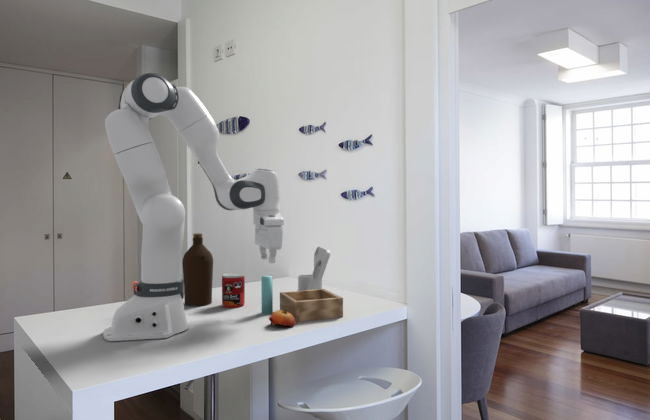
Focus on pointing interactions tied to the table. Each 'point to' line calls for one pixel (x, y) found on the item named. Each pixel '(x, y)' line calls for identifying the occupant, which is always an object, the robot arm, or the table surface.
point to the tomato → (282, 318)
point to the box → (312, 304)
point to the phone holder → (315, 271)
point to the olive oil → (197, 273)
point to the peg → (267, 294)
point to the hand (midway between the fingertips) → (267, 260)
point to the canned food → (233, 290)
